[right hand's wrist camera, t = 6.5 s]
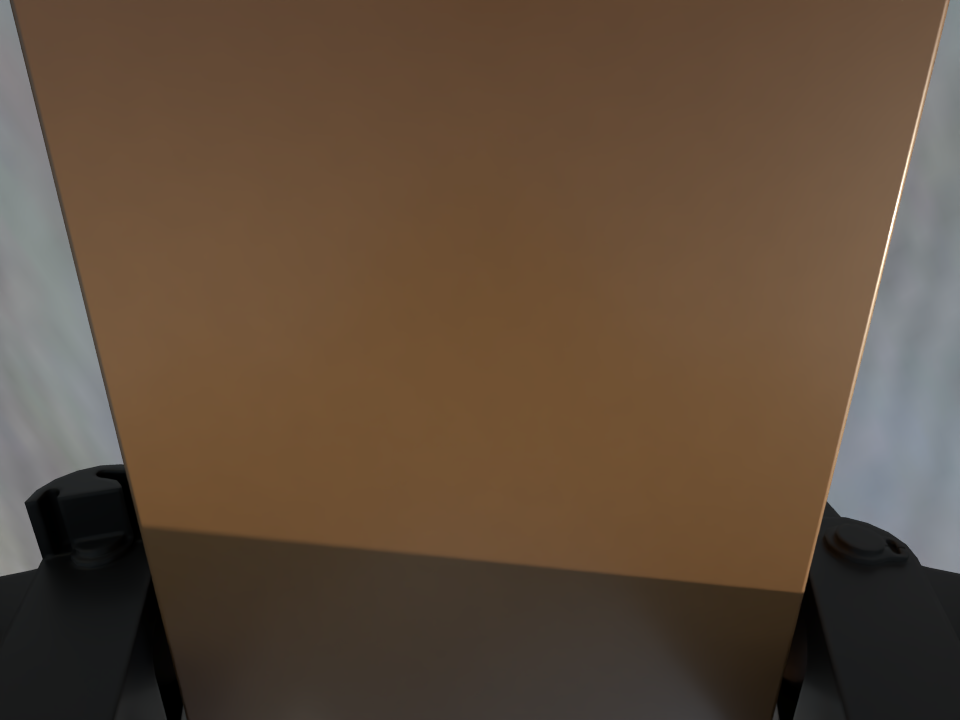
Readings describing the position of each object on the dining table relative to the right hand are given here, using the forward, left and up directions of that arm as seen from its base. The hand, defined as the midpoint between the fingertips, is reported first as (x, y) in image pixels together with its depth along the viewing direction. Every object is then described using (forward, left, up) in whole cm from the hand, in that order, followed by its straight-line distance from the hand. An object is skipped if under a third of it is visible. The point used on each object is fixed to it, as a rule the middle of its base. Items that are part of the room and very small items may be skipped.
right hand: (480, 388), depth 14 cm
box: (+4, +7, -1) cm, 8 cm away
